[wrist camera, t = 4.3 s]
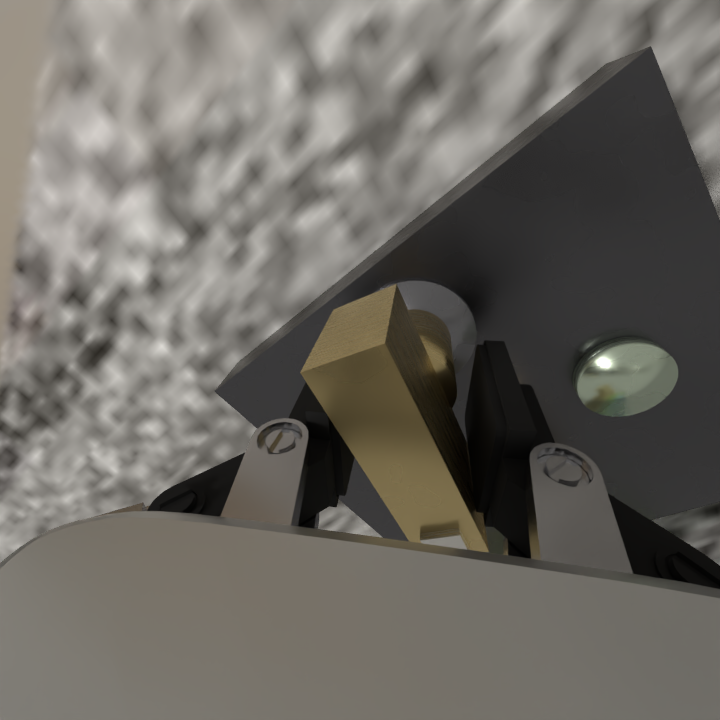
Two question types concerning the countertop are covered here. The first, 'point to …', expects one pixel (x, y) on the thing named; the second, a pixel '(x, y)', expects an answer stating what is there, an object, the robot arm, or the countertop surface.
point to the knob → (400, 414)
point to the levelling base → (561, 294)
